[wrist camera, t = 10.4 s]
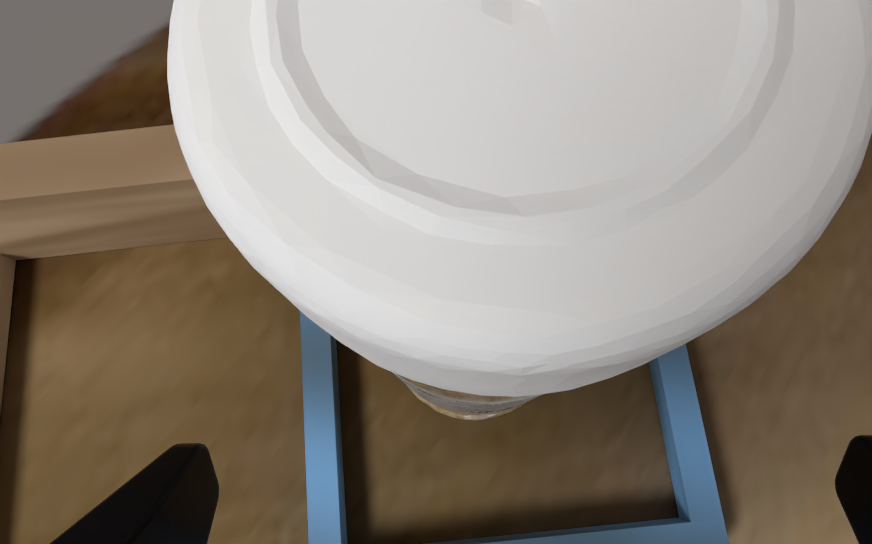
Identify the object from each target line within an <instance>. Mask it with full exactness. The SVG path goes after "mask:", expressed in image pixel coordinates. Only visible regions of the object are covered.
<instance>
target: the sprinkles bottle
mask: <svg viewBox="0 0 872 544" xmlns="http://www.w3.org/2000/svg"><path fill="white" fill-rule="evenodd" d="M167 79H168V87H169V96H170V105H171V111H172V116H173V122H174V127H175V131H176V134H177V137H178V141H179V144H180V147H181V150H182V153H183V155H184V158H185V160H186V163H187V165H188V168H189V170H190V173H191V175H192V177H193V179H194V181H195V183H196V185H197V187H198V189H199V191H200V193H201V195H202V198H203V200H204V202H205V204H206V206H207V208H208V209H209V210H210V212H211V213H212V215H213V216H214V218H215V219H216V220H217V222H218V223H219V225H220V226H221V228H222V229H223V230H224V232H225V233H226V235H227V236H228V237H229V239H230V240H231V241H232V242H233V244H234V245H235V246H236V247H237V248H238V250H239V251H240V252H241V253H242V255H243V256H244V257H245V258H246V259H247V261H248V262H249V263H250V264H251V265H252V267H253V268H254V269H256V270H257V271H258V272H259V273H260V274H261V275H262V276H263V277H264V278H265V279H266V280H268V281H269V282H270V283H271V284H272V285H273V286H274V287H275V288H276V289H277V290H278V291H280V292H281V293H282V294H283V295H284V296H285V297H286V298H287V299H288V300H289V301H290V302H291V303H293V304H294V305H295V306H296V307H297V308H298V309H299V310H300V311H301V312H302V313H303V314H305V315H306V316H307V317H308V318H309V319H310V320H312V321H313V322H314V323H316V324H317V325H318V326H320V327H321V328H322V329H324V330H325V331H326V332H328V333H329V334H330V335H331V336H333V337H334V338H335V339H337V340H338V341H339V342H341V343H342V344H344V345H345V346H347V347H348V348H350V349H352V350H353V351H355V352H356V353H358V354H360V355H361V356H363V357H364V358H366V359H368V360H369V361H371V362H372V363H374V364H376V365H377V366H379V367H382V368H384V369H386V370H389V371H391V372H392V373H393V374H395V375H396V376H397V377H398V378H399V379H400V380H402V381H403V382H404V383H405V384H406V385H407V386H408V387H409V388H410V390H411V391H412V392H413V393H414V394H415V396H416V397H417V398H418V399H420V400H421V401H422V402H424V403H426V404H427V405H429V406H430V407H431V408H433V409H434V410H436V411H437V412H440V413H442V414H445V415H447V416H450V417H453V418H458V419H464V420H484V419H488V418H494V417H498V416H501V415H503V414H506V413H509V412H512V411H514V410H515V409H517V408H519V407H521V406H522V405H523V404H524V403H526V402H528V401H530V400H532V399H534V398H536V397H538V396H540V395H542V394H547V393H554V392H560V391H567V390H572V389H575V388H578V387H582V386H585V385H588V384H592V383H595V382H598V381H602V380H605V379H608V378H611V377H614V376H616V375H619V374H621V373H624V372H626V371H629V370H631V369H634V368H636V367H639V366H641V365H643V364H645V363H647V362H649V361H651V360H653V359H655V358H657V357H659V356H661V355H663V354H665V353H667V352H670V351H672V350H674V349H676V348H678V347H680V346H682V345H684V344H685V343H687V342H689V341H691V340H693V339H695V338H696V337H698V336H700V335H702V334H704V333H706V332H707V331H709V330H711V329H713V328H715V327H716V326H718V325H719V324H721V323H722V322H724V321H725V320H727V319H729V318H730V317H732V316H733V315H735V314H736V313H738V312H740V311H741V310H743V309H744V308H746V307H747V306H749V305H751V304H752V303H753V302H754V301H755V300H757V299H758V298H759V297H760V296H761V295H763V294H764V293H765V292H766V291H767V290H768V289H770V288H771V287H772V286H773V285H774V284H776V283H777V282H778V281H779V280H780V279H782V278H783V277H784V276H785V275H786V274H788V273H789V272H790V271H791V270H792V269H793V268H794V267H795V265H796V264H797V263H798V262H799V261H800V260H801V259H802V258H803V257H804V255H805V254H806V253H807V252H808V251H809V250H810V249H811V247H812V246H813V245H814V244H815V243H816V241H817V240H818V239H819V238H820V236H821V235H822V233H823V232H824V230H825V229H826V227H827V226H828V224H829V223H830V221H831V220H832V218H833V216H834V215H835V213H836V212H837V210H838V209H839V207H840V206H841V204H842V203H843V201H844V199H845V198H846V196H847V194H848V193H849V191H850V189H851V187H852V185H853V183H854V181H855V178H856V176H857V174H858V172H859V170H860V168H861V166H862V162H863V159H864V156H865V153H866V150H867V147H868V143H869V140H870V137H871V134H872V0H174V3H173V8H172V13H171V19H170V29H169V43H168V57H167Z"/></svg>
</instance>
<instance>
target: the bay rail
mask: <svg viewBox="0 0 872 544" xmlns="http://www.w3.org/2000/svg"><path fill="white" fill-rule="evenodd" d="M226 237H228V236H227V235H226V233H225V232H224V230H223V229H222V228H221V226H220V225H219V223H218V222H217V220H216V219H215V218H214V216H213V215H212V213H211V212H210V210H209V209H208V208H207V206H206V204H205V202H204V200H203V198H202V195H201V193H200V191H199V189H198V187H197V185H196V183H195V181H194V179H193V177H192V175H191V173H190V170H189V168H188V165H187V163H186V160H185V158H184V155H183V153H182V150H181V147H180V144H179V141H178V137H177V134H176V131H175V127H174V125H165V126H156V127H147V128H138V129H129V130H120V131H111V132H102V133H93V134H84V135H75V136H66V137H57V138H48V139H39V140H30V141H21V142H12V143H3V144H0V415H1V405H2V395H3V385H4V374H5V364H6V354H7V344H8V334H9V324H10V314H11V304H12V294H13V283H14V273H15V263H16V260H24V259H33V258H42V257H51V256H61V255H70V254H79V253H88V252H97V251H107V250H116V249H125V248H134V247H143V246H152V245H162V244H171V243H180V242H189V241H198V240H208V239H217V238H226ZM300 324H301V350H302V377H303V403H304V429H305V456H306V482H307V508H308V535H309V544H347V527H346V509H345V491H344V472H343V454H342V435H341V417H340V399H339V380H338V362H337V344H336V339H335V338H334V337H333V336H331V335H330V334H329V333H328V332H326V331H325V330H324V329H322V328H321V327H320V326H318V325H317V324H316V323H314V322H313V321H312V320H310V319H309V318H308V317H307V316H306V315H305V314H303V313H302V312H301V311H300ZM648 363H649V368H650V373H651V378H652V383H653V388H654V393H655V398H656V403H657V408H658V414H659V419H660V424H661V429H662V434H663V439H664V444H665V449H666V454H667V459H668V464H669V469H670V474H671V479H672V484H673V489H674V494H675V499H676V504H677V509H678V514H679V518H669V519H659V520H649V521H640V522H630V523H620V524H610V525H600V526H591V527H581V528H571V529H561V530H551V531H542V532H532V533H522V534H512V535H502V536H493V537H483V538H473V539H463V540H453V541H444V542H434V543H424V544H729V541H728V536H727V532H726V527H725V522H724V518H723V513H722V508H721V504H720V499H719V495H718V490H717V485H716V481H715V476H714V472H713V467H712V462H711V458H710V453H709V449H708V444H707V439H706V435H705V430H704V426H703V421H702V416H701V412H700V407H699V403H698V398H697V393H696V389H695V384H694V380H693V375H692V370H691V366H690V361H689V357H688V352H687V347H686V343H685V344H684V345H682V346H680V347H678V348H676V349H674V350H672V351H670V352H667V353H665V354H663V355H661V356H659V357H657V358H655V359H653V360H651V361H649V362H648Z"/></svg>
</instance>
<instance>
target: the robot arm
mask: <svg viewBox="0 0 872 544" xmlns="http://www.w3.org/2000/svg"><path fill="white" fill-rule="evenodd" d="M835 488H836V492H837V495H838V498H839V500H840V503H841V505H842V507H843V509H844V511H845V514H846V516H847V518H848V520H849V522H850V525H851V527H852V529H853V531H854V533H855V536H856V538H857V540H858V542H859V544H872V435H860V436H856V437H854V438H853V439H852V440H851V441H850V443H849V445H848V447H847V450H846V452H845V455H844V457H843V460H842V462H841V464H840V467H839V469H838V472H837V474H836V478H835ZM218 497H219V484H218V480H217V477H216V474H215V470H214V467H213V464H212V460H211V457H210V454H209V451H208V449H207V447H206V446H205V445H204V444H201V443H188V444H176V445H174V446H172V447H170V448H169V449H168V450H167V451H165V452H164V453H163V454H162V455H160V456H159V457H158V458H157V459H155V460H154V461H153V462H152V463H150V464H149V465H148V466H147V467H145V468H144V469H143V470H141V471H140V472H139V473H138V474H136V475H135V476H134V477H133V478H131V479H130V480H129V481H128V482H126V483H125V484H124V485H123V486H121V487H120V488H119V489H118V490H116V491H115V492H114V493H113V494H111V495H110V496H109V497H108V498H106V499H105V500H104V501H103V502H101V503H100V504H99V505H98V506H96V507H95V508H94V509H93V510H91V511H90V512H89V513H88V514H86V515H85V516H84V517H83V518H81V519H80V520H79V521H78V522H76V523H75V524H74V525H73V526H71V527H70V528H69V529H68V530H66V531H65V532H64V533H63V534H61V535H60V536H59V537H58V538H56V539H55V540H54V541H53V542H51V543H50V544H207V541H208V538H209V534H210V530H211V526H212V522H213V518H214V514H215V510H216V506H217V502H218Z"/></svg>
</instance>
